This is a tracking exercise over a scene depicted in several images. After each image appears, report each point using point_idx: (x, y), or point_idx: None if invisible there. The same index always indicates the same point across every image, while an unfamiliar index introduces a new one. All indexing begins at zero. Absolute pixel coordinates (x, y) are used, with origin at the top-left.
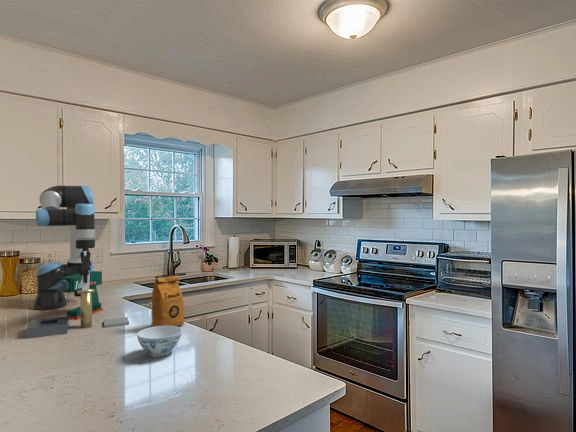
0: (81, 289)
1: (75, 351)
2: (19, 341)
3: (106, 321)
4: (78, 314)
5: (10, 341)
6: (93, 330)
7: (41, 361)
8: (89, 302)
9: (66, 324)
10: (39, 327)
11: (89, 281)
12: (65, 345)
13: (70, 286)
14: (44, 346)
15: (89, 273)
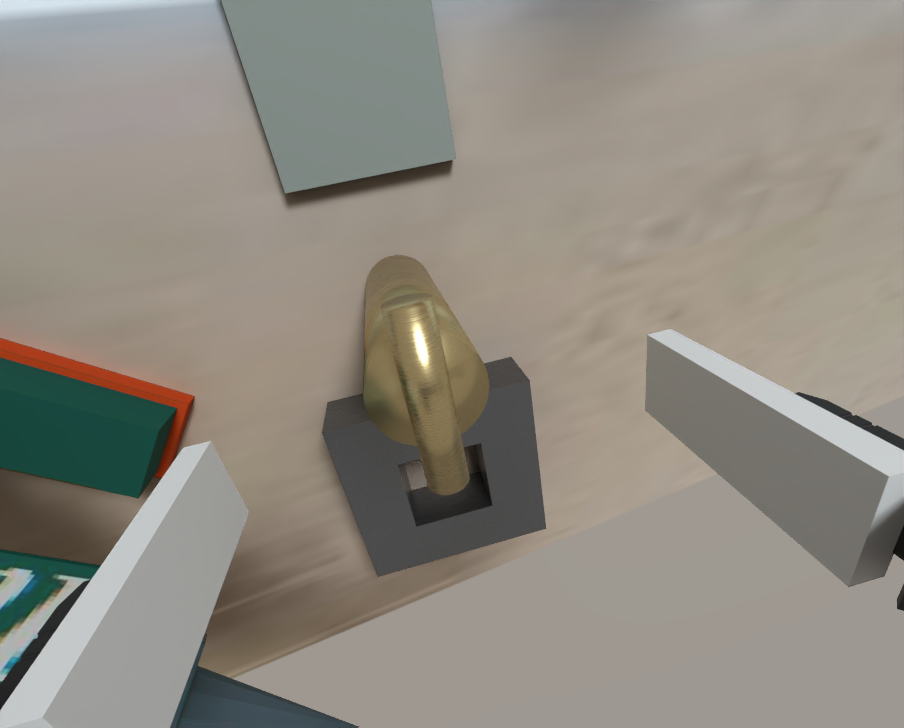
0: None
1: (823, 230)
2: (560, 502)
3: (342, 161)
4: (154, 410)
5: (546, 531)
6: (496, 223)
7: (857, 331)
8: (447, 311)
9: (527, 381)
10: (540, 487)
11: (185, 484)
12: (711, 302)
13: None
14: None
15: (94, 632)
